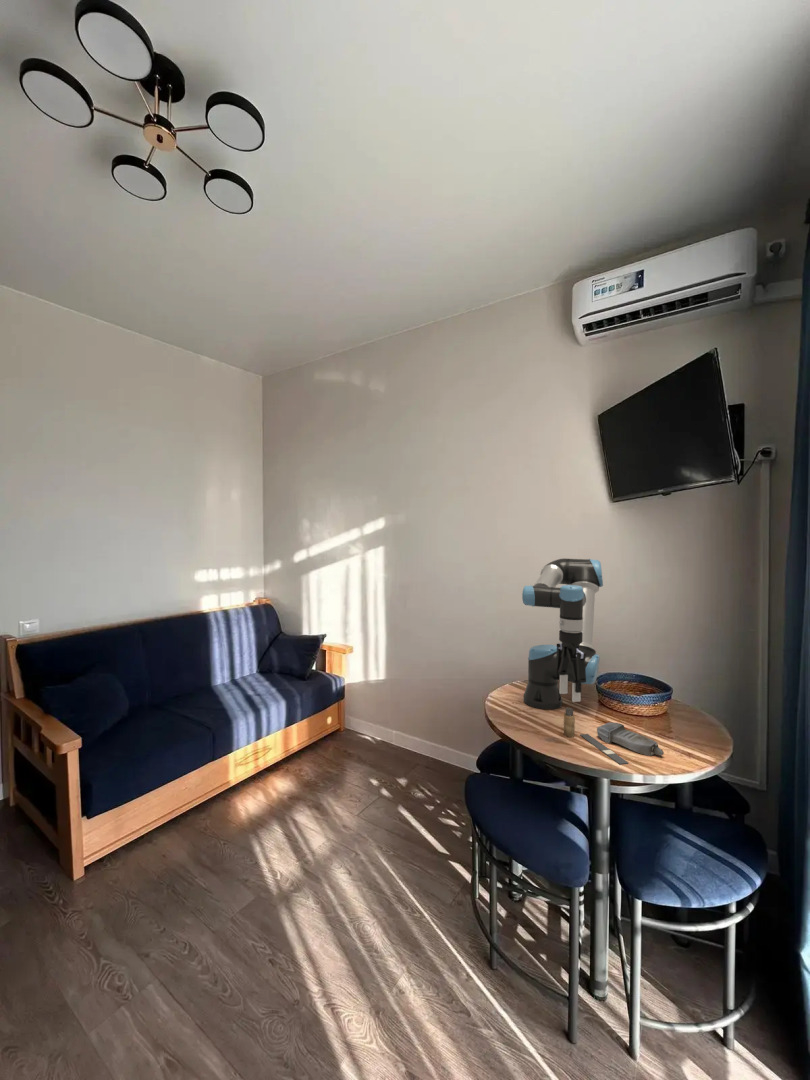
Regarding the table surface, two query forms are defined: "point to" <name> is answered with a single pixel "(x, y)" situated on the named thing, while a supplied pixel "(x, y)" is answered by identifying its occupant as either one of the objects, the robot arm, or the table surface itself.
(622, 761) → the strip
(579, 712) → the table surface
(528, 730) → the table surface
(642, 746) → the handheld device
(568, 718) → the tan bottle
